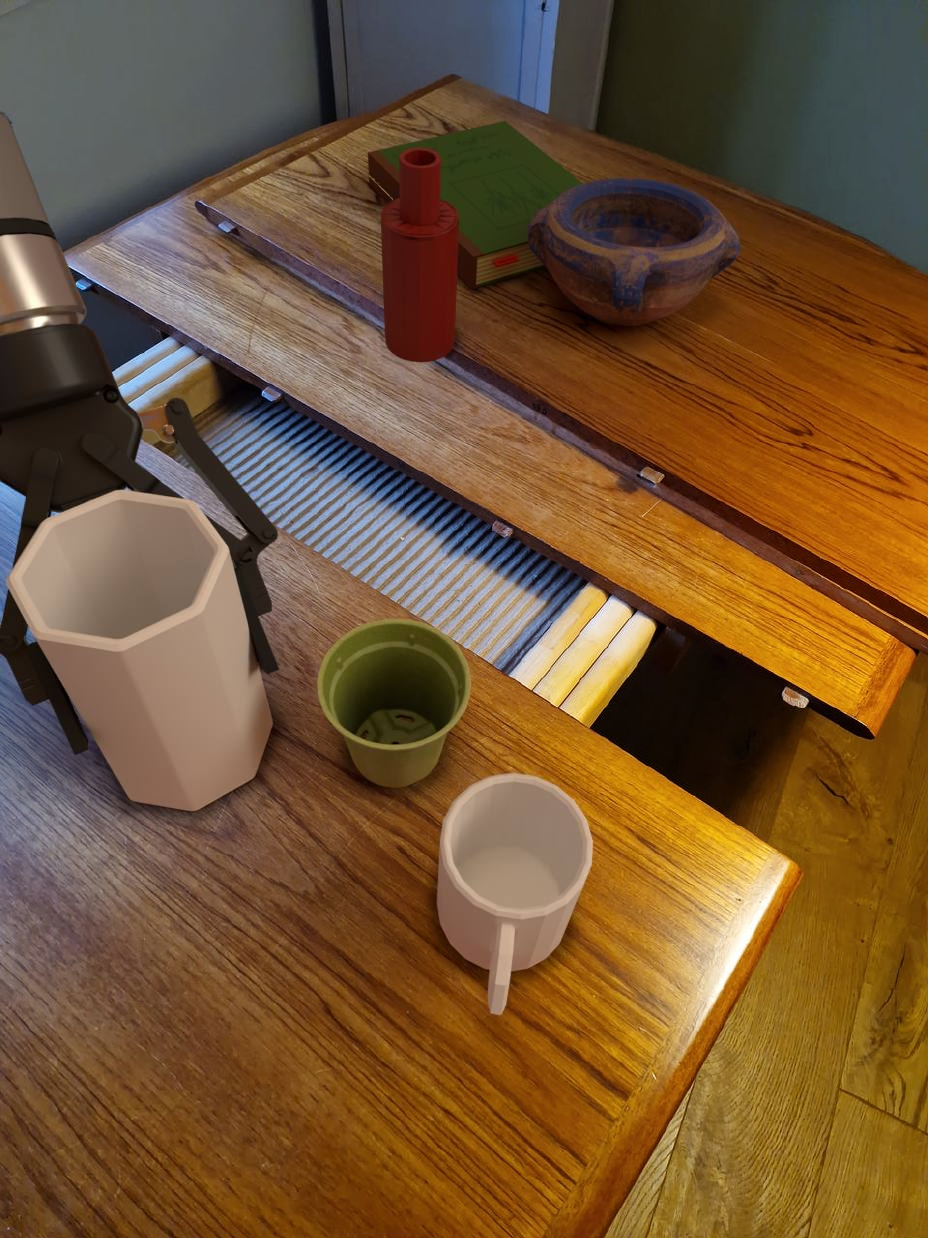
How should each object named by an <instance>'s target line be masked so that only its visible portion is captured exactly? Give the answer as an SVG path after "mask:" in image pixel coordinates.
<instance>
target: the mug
mask: <svg viewBox="0 0 928 1238" xmlns="http://www.w3.org/2000/svg"><path fill="white" fill-rule="evenodd" d="M590 830H591V829H590V827H589V823H588V820H587V818H586V816H585V815H584V814H583V812H582V810H581V808H580V807H579V806H578V803H576V801H575V800H574V799H573V798H572V797H571V796H570V795H569V794H567V793H566V792H565V791H564V790H562V789H561V788H560V787H559V786H558V785H557V784H554V783H552V782H551V781H547V780H545V779H544V778H541V777H538V776H536V775H531V774H523V773H517V772H509V773H502V774H494V775H489V776H487V777H485V778H483V779H480V780H478V781H477V782H474V783H473V784H470V785H469V786H467V788H466V789H465V790H463V792H462V793H460V794H459V795H458V796H457V797H456V798H455V799H454V800H453V801H452V803H451V805H450V807H449V809H448V811H447V812H446V815H445V816H444V818H443V820H442V826H441V830H440V839H439V847H438V849H439V851H438V869H437V872H438V873H437V890H436V891H437V892H436V906H437V913H438V919H439V925H440V928H441V929H442V931H443V933H444V935H445V937H446V939H447V941H448V943H449V944H450V945H451V947H452V948H453V949H455V951H457V952H458V953H459V954H460V955H461V957H463V959H465V960H466V961H469V962H470V963H472V964H474V965H476V966H478V967H480V968H482V969H483V970H489V975H488V984H487V986H488V987H487V1006H488V1008H489V1009H488V1010H489V1012H490V1014H492V1015H499V1016H501V1015H502V1014H503V1011H504V1010H505V1009H506V1006H507V1001H508V994H509V989H510V982H511V974H512V972H517V971H522V970H527V969H531V968H532V967H533V966H535V965H537V964H539V963H540V962H543V961H545V960H546V959H547V958H548V957H549V956H550V955H551V954H552V953H553V952H554V950H555V949H556V948H557V947H558V946H559V945H560V943H561V942H562V939H563V937H564V934H565V932H566V929H567V927H568V924H569V923H570V919H571V917H572V915H573V912H574V910H575V907H576V906H577V902H578V900H579V897H580V895H581V892H582V890H583V888H584V885H585V882H586V880H587V878H588V876H589V872H590V870H591V868H592V865H593V850H594V848H593V847H594V841H593V836H592V833H591V831H590Z"/></svg>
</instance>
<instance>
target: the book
mask: <svg viewBox="0 0 928 1238" xmlns="http://www.w3.org/2000/svg"><path fill="white" fill-rule="evenodd" d="M413 148H425V149H431V150H433V151H435V152H437V153H438V154H439V156H440V157H441V186H440V199H441V200H444V201H447V202H448V203H450V204H451V205H452V206H453V207H455V208H456V210H457V212H458V215H459V241H458V268H457V277H459V278H460V280H462V282H464V283H465V284H466V285H467V287H469V289H471V290H474V289H479V288H482V287H485V286H488V285H492V284H496V283H499V282H502V281H505V280H508V279H511V278H515V277H519V276H522V275H526V274H528V273H531V272H535V271H538V270H542V269H546V267H545V266H544V265H543V263H542V262H541V261H540V260H539V258H538V257H537V256H536V255H535V254H534V253H533V251H532V250H531V249H530V246H529V243H528V239H527V225H528V224H529V222H530V221H531V219H532V218H533V216H534V215H535V213H536V212H537V211H539V210H540V209H542V208H544V207H545V206H547V205H548V204H549V203H551V202H552V201H553V200H555V199H556V198H557V197H558V196H559V195H561V194H562V193H563V192H564V191H566V190H569V189H571V188H573V187H575V186H578V185H582V184H584V182H582V181H581V180H579V179H578V178H577V177H575V176H574V175H573V174H572V173H570V172H569V171H568V170H567V169H565V168H564V166H562V165H561V164H560V163H558V162H557V161H555V159H553V158H552V157H551V156H549V155H548V154H547V153H546V152H545V151H544V150H542V149H541V148H539V146H537V145H536V144H535V143H534V142H533V141H531V140H530V139H529V138H527V137H526V136H525V135H523V134H522V133H521V132H520V131H519V130H517V129H516V128H515V127H514V126H513V125H511V124H510V123H509V122H507V120H502V121H498V122H494V123H489V124H485V125H480V126H476V127H472V128H468V129H464V130H459V131H454V132H450V133H446V134H442V135H438V136H433V137H429V138H425V139H419V140H415V141H411V142H407V143H403V144H398V145H393V146H389V147H385V148H381V149H377V150H372V151H369V152H367V163H368V164H367V165H368V184H369V186H370V187H371V188H372V189H373V190H374V191H375V192H376V193H377V194H378V195H379V196H380V197H381V198H382V200H384V201H385V202H386V203H387V204H388V203H390V202H391V201H393V200H395V199H399V198H400V184H399V157H400V155H401V153H402V152H404V151H406V150H408V149H413ZM369 175H370V176H371V177H372V178H374V179H375V181H376V182H378V183H379V185H380V186H381V187H382V188H383V189H384V190H385V191H386V192H387V193H388V194H389V195H390V197H392V198H393V200H392V199H391V198H390V197H389V196H388V195H387V194H386V193H385V192H384V191H383V190H382V189H381V188H380V187H379V186H378V185H377V184H376V183H375V182H374V181H373V180H372V179H371V178H370V177H369Z"/></svg>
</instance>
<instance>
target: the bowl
mask: <svg viewBox="0 0 928 1238" xmlns="http://www.w3.org/2000/svg"><path fill="white" fill-rule="evenodd" d="M527 239H528V243H529V246H530V249H531V250H532V251H533V253H534V254H535V255H536V256H537V257H538V258H539V260H540V261H541V262H542V263H543V265H544V266H545V269H546V270H547V271H548V273H549V274H550V275H551V277H552V278H553V280H554V282H555V284H556V285H557V287H558V288H559V290H560V291H561V292H562V293H563V295H564V296H565V297H566V298H567V299H568V300H569V301H570V302H572V304H573V305H574V306H576V307H577V308H578V309H580V310H581V311H583V312H584V313H586V314H587V315H589V316H591V317H593V318H595V319H596V320H597V321H600V322H602V323H604V324H606V325H614V326H620V327H639V326H645V325H647V324H650V323H652V322H656V321H657V320H660V319H663V318H667V317H668V316H670V315H672V314H674V313H676V312H677V311H679V310H681V309H682V308H684V307H685V306H687V305H688V304H689V303H690V302H692V300H694V299H695V298H696V297H697V296H699V294H701V292H702V291H703V290H704V289H705V287H706V286H707V284H708V283H709V281H711V280H712V279H713V278H714V277H715V276H717V275H718V274H720V273H721V272H722V271H724V270H726V268H729V266H731V265H732V264H733V263H734V262H735V261H736V260H737V259H738V257H739V255H740V253H741V251H742V249H741V239H740V237H739V235H738V231H737V229H736V228H735V227H734V226H733V225H732V224H731V223H730V222H729V221H728V220H727V218H726V217H725V216H724V215H723V213H722V212H721V211H720V210H719V209H718V208H717V207H716V206H715V205H714V204H713V203H712V202H711V201H710V200H708V199H707V198H705V197H703V196H702V195H701V194H698V193H697V192H695V191H693V190H691V189H688V188H686V187H682V186H679V185H676V184H673V183H669V182H663V181H658V180H652V179H645V178H638V177H615V178H606V179H599V180H592V181H589V182H585V183H583V184H582V185H578V186H575V187H573V188H571V189H569V190H566V191H564V192H563V193H562V194H561V195H559V196H558V197H557V198H556V199H555V200H553V201H552V202H551V203H549V204H548V205H547V206H545V207H544V208H542V209H540V210H539V211H537V212H536V213H535V215H534V216H533V218H532V219H531V221H530V222H529V224H528V225H527Z"/></svg>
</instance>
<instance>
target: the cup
mask: <svg viewBox="0 0 928 1238" xmlns="http://www.w3.org/2000/svg"><path fill="white" fill-rule="evenodd" d="M12 567H13V566H12ZM5 585H6V587H7V589H8V588H9V590H10V592H11V594H12V596H13V598H14V600H15V601H16V603H17V605H18V607H19V609H20V611H21V613H22V615H23V617H24V618H25V620H26V622H27V624H28V629H30V632H31V633H32V635H33V637H34V639H35V640H36V641H37V642H38V644H39V646H40V647H41V649H42V651H43V652H44V654H45V656H46V658H47V659H48V661H49V663H50V664H51V666H52V668H53V669H54V671H55V673H56V675H57V676H58V678H59V680H60V681H61V683H62V685H63V687H64V688H65V690H66V692H67V693H68V696H69V698H70V700H71V702H72V704H73V706H75V707H74V708H75V710H76V711H77V712H78V714H79V716H80V717H81V719H82V721H83V723H84V724H85V726H86V728H87V729H88V731H89V733H90V735H91V736H92V738H93V740H94V741H95V743H96V745H97V746H98V748H99V749H100V752H101V753H102V755H103V757H104V758H105V760H106V762H107V764H108V765H109V767H110V769H111V770H112V772H113V773H114V776H115V778H116V779H117V781H118V782H119V784H120V786H121V788H122V789H123V791H124V792H125V794H126V797H128V799H129V800H130V801H132V802H136V803H142V804H147V805H148V804H149V805H153V806H160V807H165V808H169V809H176V810H183V811H188V812H195V811H199V810H201V809H203V808H204V807H206V806H207V805H209V804H211V803H212V802H214V801H216V800H218V799H219V798H221V797H223V796H225V795H227V794H228V793H230V792H232V791H234V790H235V789H237V788H240V787H241V786H243V785H244V784H246V783H248V782H249V781H251V780H253V779H254V778H255V777H256V775H257V773H258V771H259V770H258V769H259V767H260V764H261V760H262V758H263V754H264V752H265V750H266V749H265V748H266V746H267V743H268V740H269V738H270V737H269V736H270V734H271V731H272V728H273V725H274V723H273V721H274V720H273V717H272V713H271V709H270V704H269V701H268V697H267V694H266V690H265V686H264V682H263V678H262V677H263V676H262V673H261V669H260V667H259V664H258V662H257V658H256V654H255V651H254V647H253V643H252V639H251V635H250V631H249V627H248V622H247V618H246V614H245V611H244V607H243V603H242V599H241V595H240V591H239V587H238V583H237V579H236V575H235V571H234V567H233V563H232V560H231V556H230V552H229V548H228V546H227V545H226V543H225V542H224V541H223V539H222V538H221V536H220V535H219V534H218V532H217V531H216V530H215V528H214V527H213V526H212V524H211V523H210V522H209V520H208V519H207V517H206V516H205V515H204V512H203V511H202V509H201V508H200V507H199V505H198V504H197V503H196V502H195V501H194V500H192V499H186V498H184V499H181V498H174V497H168V496H161V495H154V494H148V493H141V492H134V491H131V490H129V489H125V490H116V491H113V492H110V493H108V494H106V495H103V496H101V497H98V498H96V499H93V500H91V501H88V502H86V503H84V504H81V505H79V506H76V507H74V508H71V509H69V510H66V511H64V512H62V513H57V514H54V515H51V517H49V518H47V519H45V520H44V521H43V522H42V523H41V524H40V525H39V527H38V528H37V530H36V532H35V533H34V535H33V537H32V538H31V540H30V541H29V543H28V545H27V546H26V548H25V550H24V551H23V553H22V554H21V556H20V558H19V559H18V561H17V563H16V564H15V566H14V567H13V569H12V568H11V571H10V572H9V573H8V575H7V577H6V580H5Z"/></svg>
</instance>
